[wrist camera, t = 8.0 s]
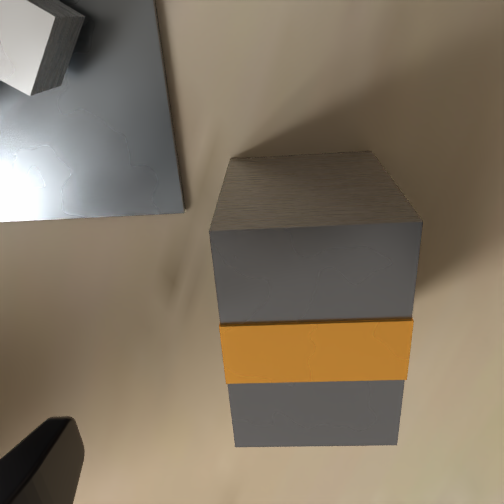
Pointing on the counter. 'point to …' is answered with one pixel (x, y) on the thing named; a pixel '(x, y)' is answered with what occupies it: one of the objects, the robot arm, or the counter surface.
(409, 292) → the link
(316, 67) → the counter surface
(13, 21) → the sprocket
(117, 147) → the cover plate
